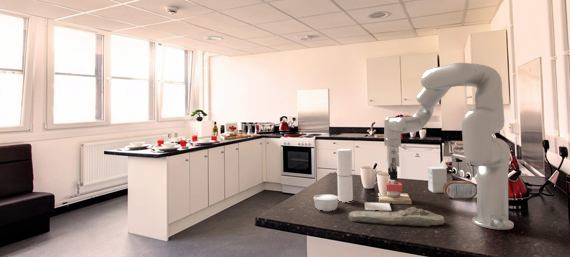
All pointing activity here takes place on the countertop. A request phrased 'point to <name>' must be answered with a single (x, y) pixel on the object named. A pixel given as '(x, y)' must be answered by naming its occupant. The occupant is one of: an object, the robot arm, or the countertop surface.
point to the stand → (395, 197)
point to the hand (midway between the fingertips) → (392, 177)
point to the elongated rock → (398, 217)
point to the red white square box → (394, 187)
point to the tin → (460, 189)
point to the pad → (378, 206)
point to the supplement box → (437, 179)
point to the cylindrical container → (344, 175)
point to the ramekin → (326, 202)
